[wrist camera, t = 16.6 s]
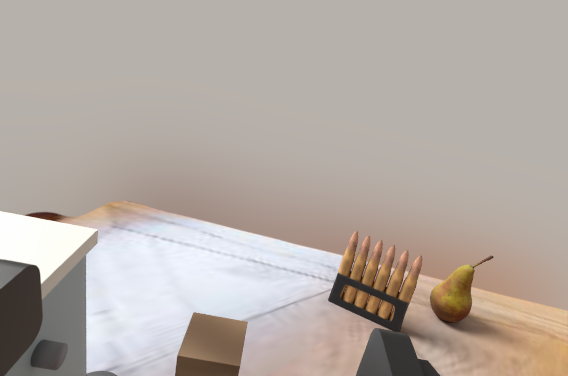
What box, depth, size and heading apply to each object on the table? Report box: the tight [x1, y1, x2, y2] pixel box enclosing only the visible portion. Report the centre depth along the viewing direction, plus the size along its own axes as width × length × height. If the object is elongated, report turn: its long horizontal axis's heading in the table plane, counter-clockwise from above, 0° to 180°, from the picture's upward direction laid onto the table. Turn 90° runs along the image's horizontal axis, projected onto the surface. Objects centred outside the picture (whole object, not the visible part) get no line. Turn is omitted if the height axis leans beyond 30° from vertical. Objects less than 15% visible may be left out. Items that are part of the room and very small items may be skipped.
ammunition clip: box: [328, 231, 422, 332], centre depth 53 cm, size 11×2×12 cm, turn 64°
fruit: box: [430, 256, 493, 322], centre depth 56 cm, size 6×6×12 cm
